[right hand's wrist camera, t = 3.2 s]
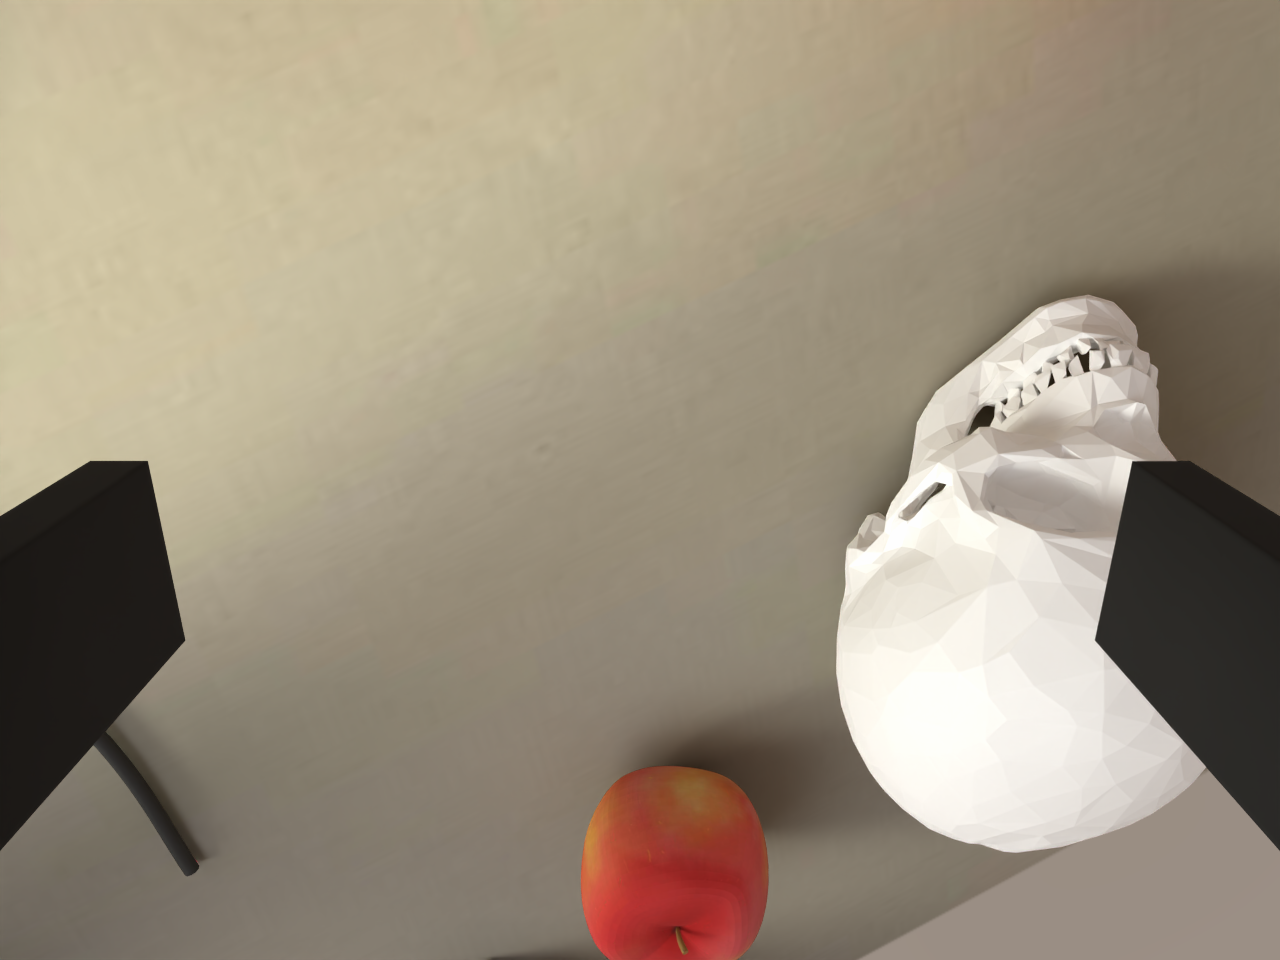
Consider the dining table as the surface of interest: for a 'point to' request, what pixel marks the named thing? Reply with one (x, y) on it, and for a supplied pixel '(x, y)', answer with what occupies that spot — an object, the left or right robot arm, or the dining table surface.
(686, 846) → the apple
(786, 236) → the dining table surface
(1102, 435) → the skull
